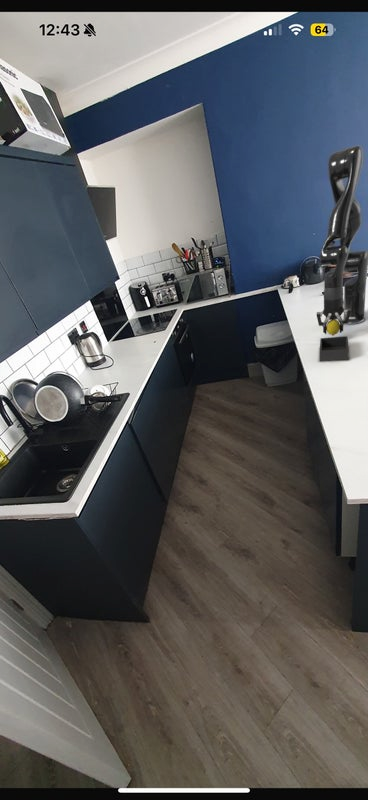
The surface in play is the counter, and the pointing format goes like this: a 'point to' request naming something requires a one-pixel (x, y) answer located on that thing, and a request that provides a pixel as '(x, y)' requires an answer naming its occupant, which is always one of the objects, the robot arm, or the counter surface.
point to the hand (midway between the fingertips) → (333, 332)
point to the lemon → (333, 327)
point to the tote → (334, 349)
